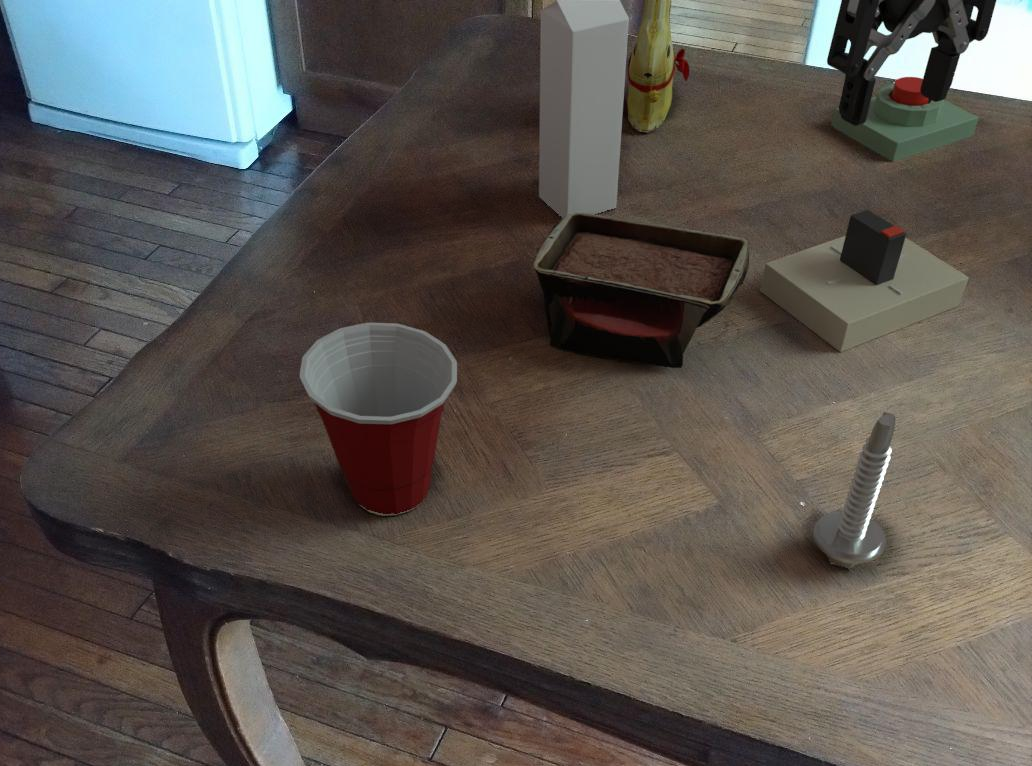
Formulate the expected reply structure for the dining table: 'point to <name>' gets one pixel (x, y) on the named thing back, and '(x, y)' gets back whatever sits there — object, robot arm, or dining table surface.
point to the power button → (908, 92)
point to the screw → (859, 505)
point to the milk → (581, 104)
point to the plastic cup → (381, 408)
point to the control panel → (860, 292)
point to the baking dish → (634, 286)
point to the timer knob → (872, 246)
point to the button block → (907, 126)
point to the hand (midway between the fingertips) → (892, 109)
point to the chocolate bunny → (653, 68)
